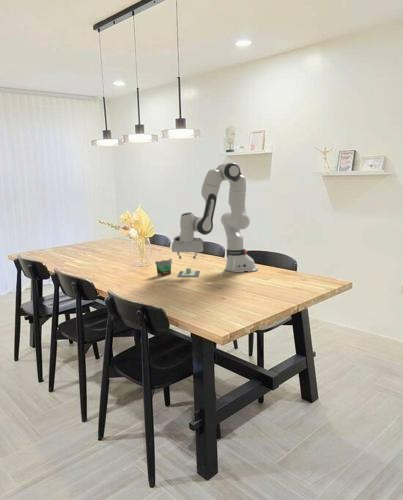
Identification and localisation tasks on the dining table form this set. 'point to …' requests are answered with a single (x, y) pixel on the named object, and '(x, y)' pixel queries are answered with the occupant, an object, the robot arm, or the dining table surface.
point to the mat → (192, 276)
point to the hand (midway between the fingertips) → (187, 258)
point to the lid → (188, 272)
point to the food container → (163, 267)
